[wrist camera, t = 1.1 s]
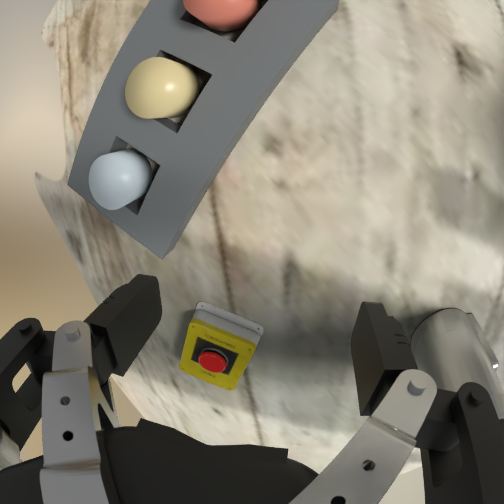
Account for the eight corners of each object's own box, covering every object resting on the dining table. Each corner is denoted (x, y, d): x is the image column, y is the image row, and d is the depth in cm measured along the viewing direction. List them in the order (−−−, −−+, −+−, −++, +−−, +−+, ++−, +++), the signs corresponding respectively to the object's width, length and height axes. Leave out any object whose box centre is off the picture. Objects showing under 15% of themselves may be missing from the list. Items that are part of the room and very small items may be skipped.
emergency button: (260, 347, 32) (228, 405, 39) (267, 324, 36) (235, 384, 43) (186, 316, 32) (172, 381, 39) (199, 296, 36) (182, 362, 43)
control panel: (206, -44, 17) (196, -55, 14) (337, 9, 18) (339, -3, 15) (82, 178, 32) (67, 184, 29) (173, 248, 33) (162, 259, 30)
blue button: (122, 139, 26) (98, 144, 23) (160, 165, 27) (138, 173, 23) (105, 182, 29) (83, 191, 25) (140, 208, 29) (119, 220, 26)
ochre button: (166, 55, 21) (144, 48, 18) (210, 78, 22) (193, 71, 18) (139, 103, 24) (115, 103, 21) (180, 127, 25) (159, 129, 21)
